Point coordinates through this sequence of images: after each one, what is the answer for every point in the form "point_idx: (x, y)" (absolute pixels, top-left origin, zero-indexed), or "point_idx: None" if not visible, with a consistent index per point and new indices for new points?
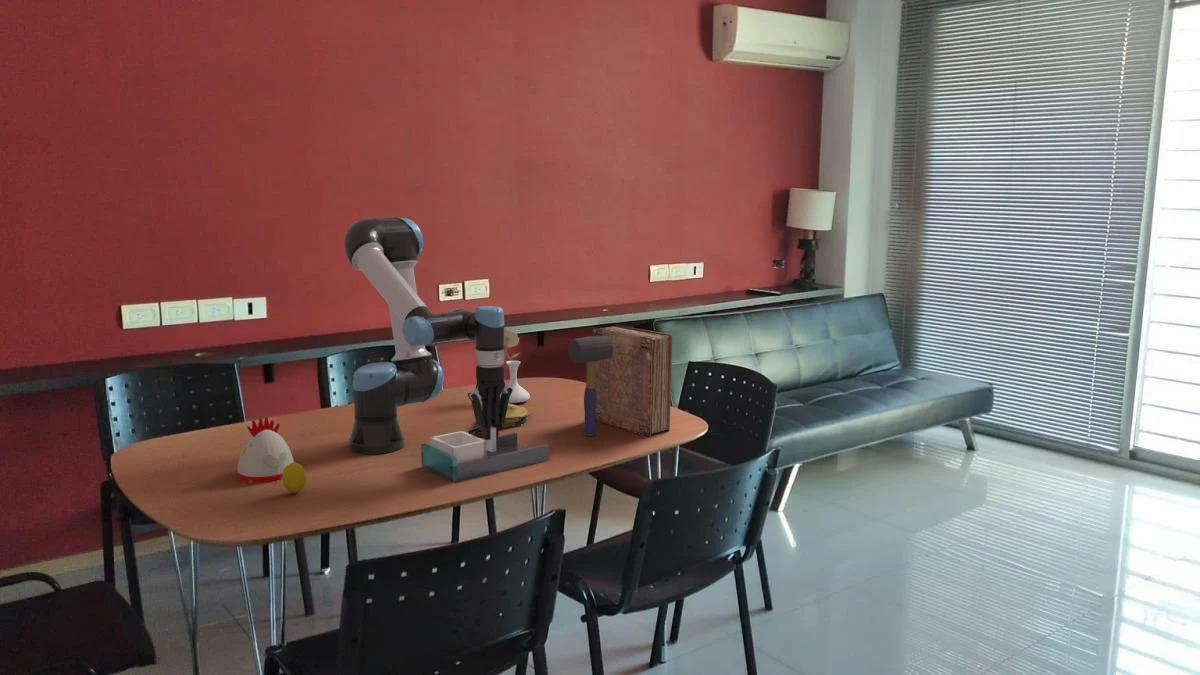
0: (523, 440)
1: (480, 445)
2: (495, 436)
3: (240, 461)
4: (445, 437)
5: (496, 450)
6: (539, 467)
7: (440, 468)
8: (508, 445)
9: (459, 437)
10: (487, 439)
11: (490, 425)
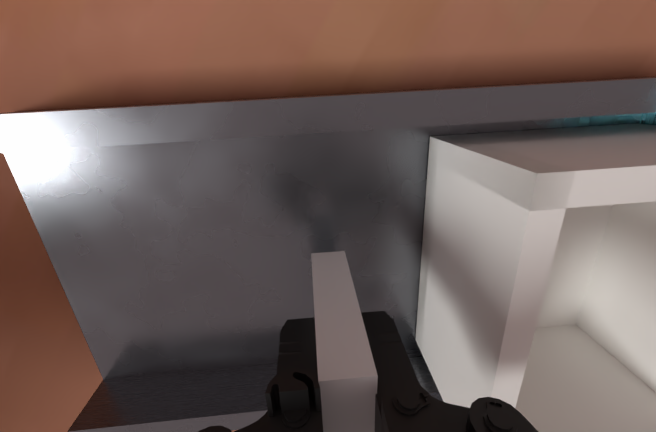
0: (53, 422)
1: (585, 160)
2: (320, 316)
3: None
4: (610, 424)
5: (244, 337)
6: (119, 14)
7: None
8: (158, 371)
9: None
10: (382, 313)
11: (393, 413)
